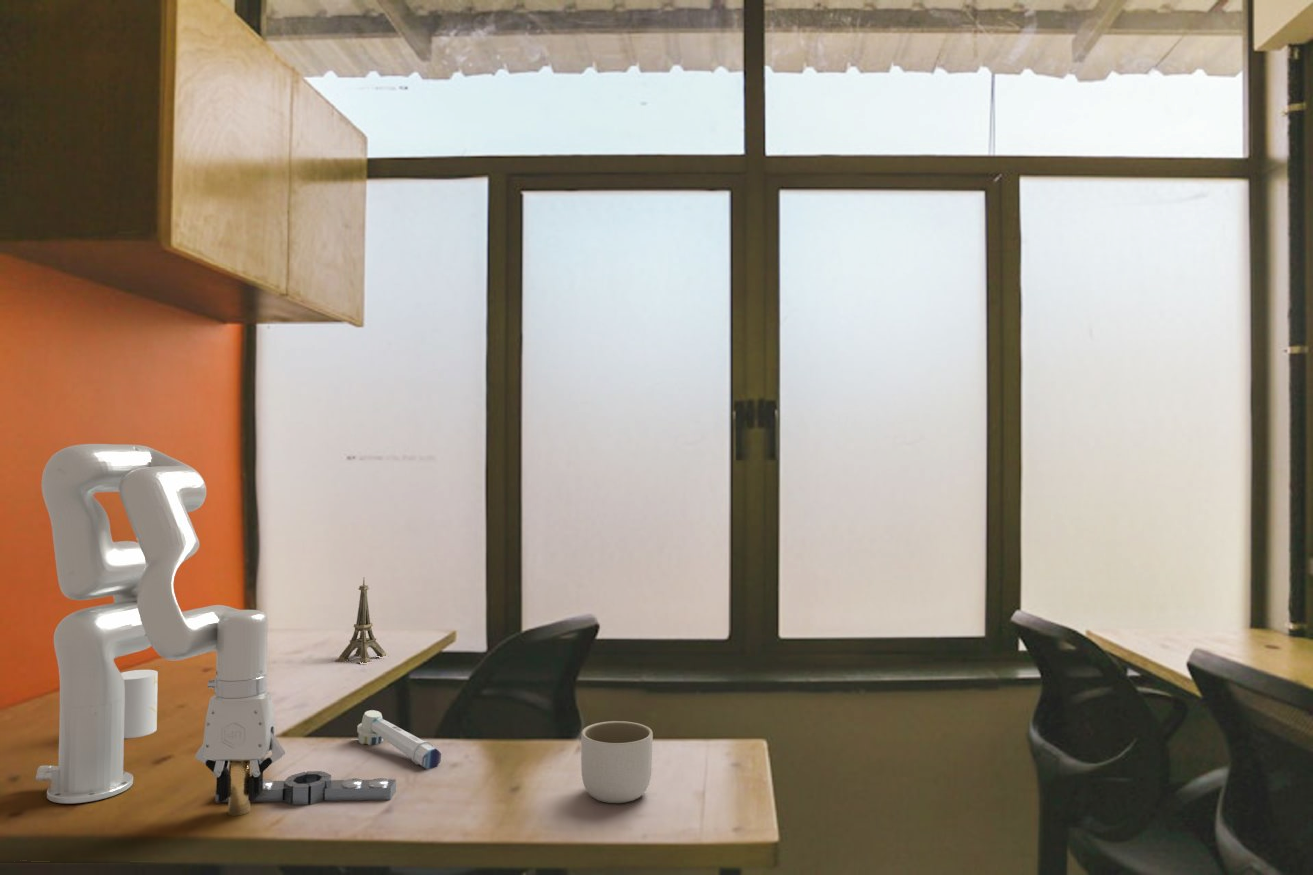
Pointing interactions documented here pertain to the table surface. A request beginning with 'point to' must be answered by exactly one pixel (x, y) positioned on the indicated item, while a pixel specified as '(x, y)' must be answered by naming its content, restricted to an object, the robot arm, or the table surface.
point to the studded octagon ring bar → (323, 789)
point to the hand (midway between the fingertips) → (239, 797)
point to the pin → (239, 787)
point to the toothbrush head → (397, 739)
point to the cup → (140, 702)
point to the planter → (616, 760)
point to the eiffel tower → (362, 633)
